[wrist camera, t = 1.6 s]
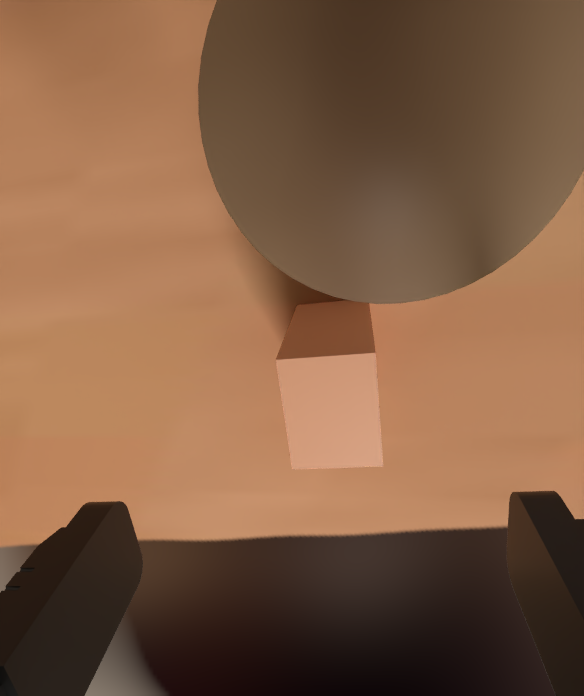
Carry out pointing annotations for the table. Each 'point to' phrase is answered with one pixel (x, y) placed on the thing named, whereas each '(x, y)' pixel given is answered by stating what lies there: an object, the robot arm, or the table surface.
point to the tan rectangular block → (330, 387)
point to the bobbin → (392, 135)
